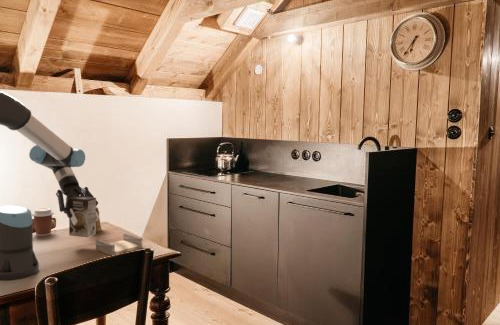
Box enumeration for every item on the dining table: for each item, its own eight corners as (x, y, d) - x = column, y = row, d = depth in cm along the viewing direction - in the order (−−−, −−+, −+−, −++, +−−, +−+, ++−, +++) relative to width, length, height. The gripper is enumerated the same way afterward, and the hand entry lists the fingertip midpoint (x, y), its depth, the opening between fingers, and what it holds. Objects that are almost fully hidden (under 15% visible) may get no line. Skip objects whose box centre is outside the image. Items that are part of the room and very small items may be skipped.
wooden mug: (75, 235, 201) (74, 197, 199) (86, 228, 214) (85, 192, 213) (94, 235, 201) (94, 198, 199) (104, 228, 215) (103, 193, 213)
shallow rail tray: (112, 255, 173) (112, 245, 173) (95, 249, 180) (95, 239, 180) (142, 247, 185) (142, 238, 184) (125, 242, 192) (125, 233, 192)
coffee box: (68, 235, 180) (68, 198, 178) (78, 232, 186) (77, 195, 185) (87, 237, 178) (87, 199, 176) (96, 233, 184) (96, 197, 183)
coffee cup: (31, 233, 203) (31, 208, 202) (52, 230, 208) (51, 206, 207) (34, 237, 196) (33, 212, 194) (55, 235, 201) (54, 210, 199)
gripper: (86, 183, 198) (106, 222, 190) (39, 187, 181) (58, 231, 173) (93, 172, 195) (113, 212, 186) (45, 176, 178) (64, 220, 169)
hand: (86, 221), depth 179 cm, fingers closed on coffee box, 9 cm apart
